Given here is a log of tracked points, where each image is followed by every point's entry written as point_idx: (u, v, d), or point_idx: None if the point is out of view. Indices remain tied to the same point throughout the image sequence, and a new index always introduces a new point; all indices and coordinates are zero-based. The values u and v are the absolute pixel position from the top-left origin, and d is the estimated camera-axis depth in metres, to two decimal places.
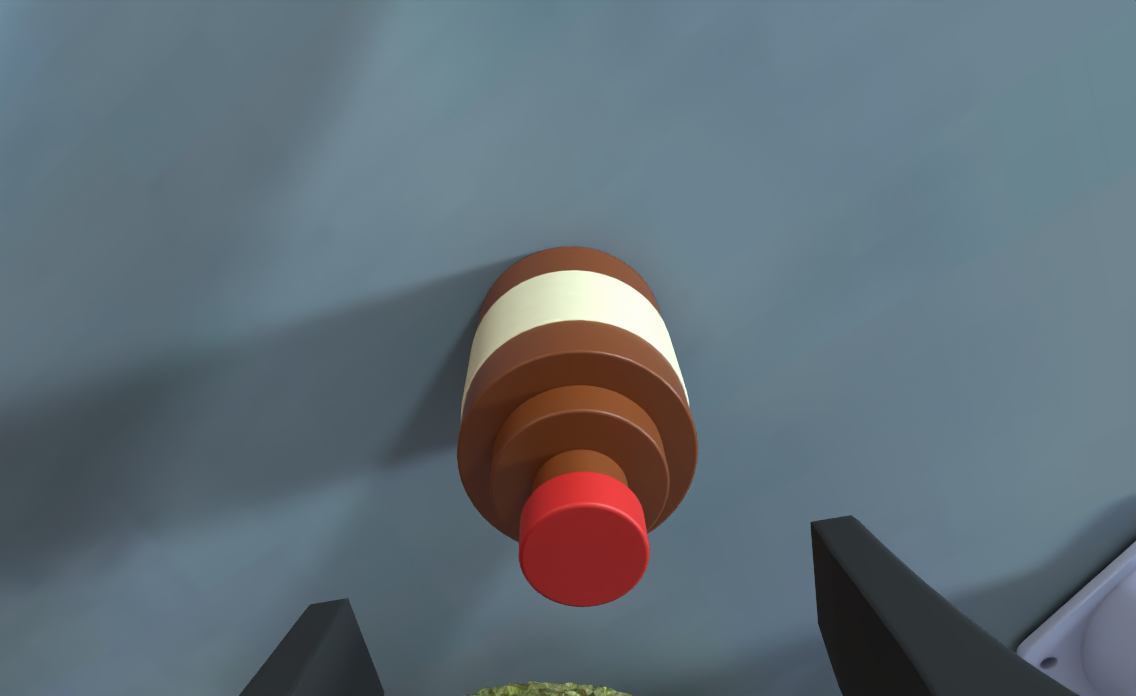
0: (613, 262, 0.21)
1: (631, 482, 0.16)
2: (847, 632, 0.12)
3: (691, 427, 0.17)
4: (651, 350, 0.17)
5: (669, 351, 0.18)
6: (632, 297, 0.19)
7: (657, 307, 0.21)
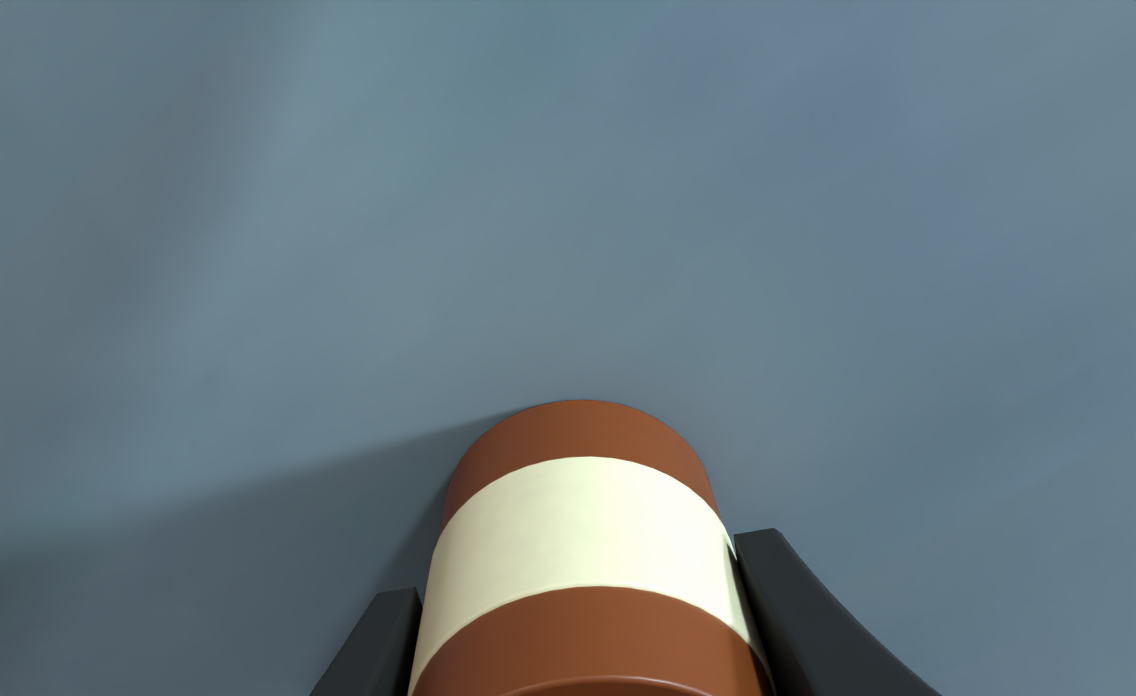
0: (645, 427, 0.14)
1: None
2: (763, 645, 0.12)
3: None
4: (722, 638, 0.10)
5: (745, 613, 0.11)
6: (680, 506, 0.12)
7: (710, 489, 0.14)
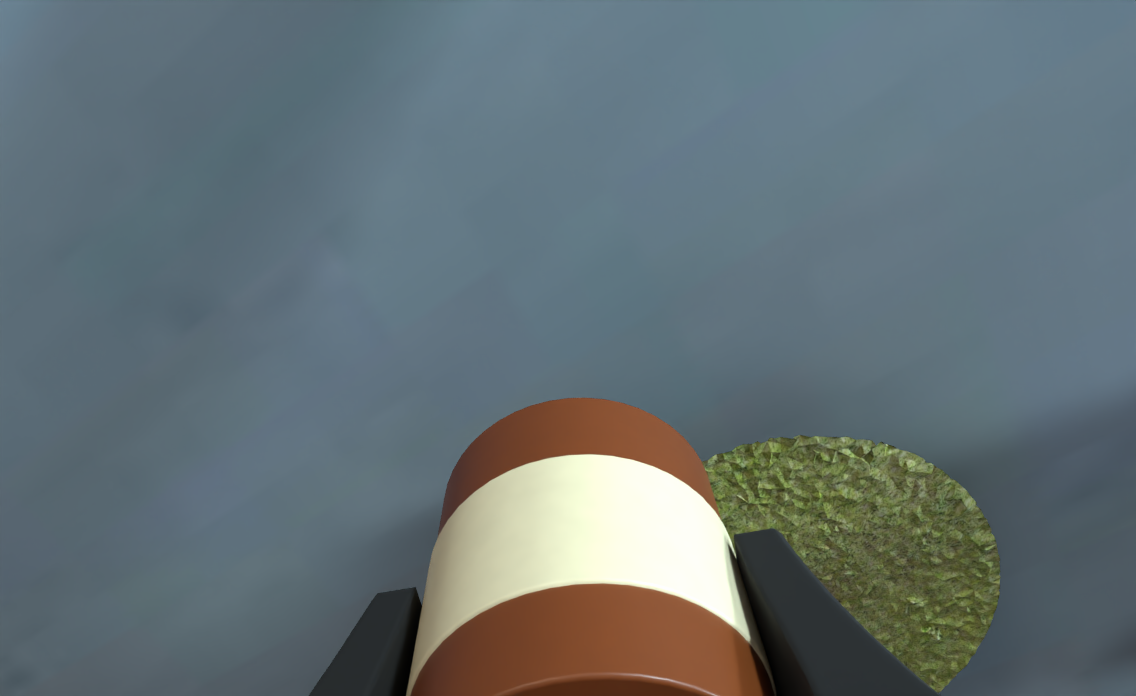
0: (644, 425, 0.14)
1: None
2: None
3: None
4: (722, 635, 0.10)
5: (745, 611, 0.11)
6: (680, 504, 0.12)
7: (710, 487, 0.14)
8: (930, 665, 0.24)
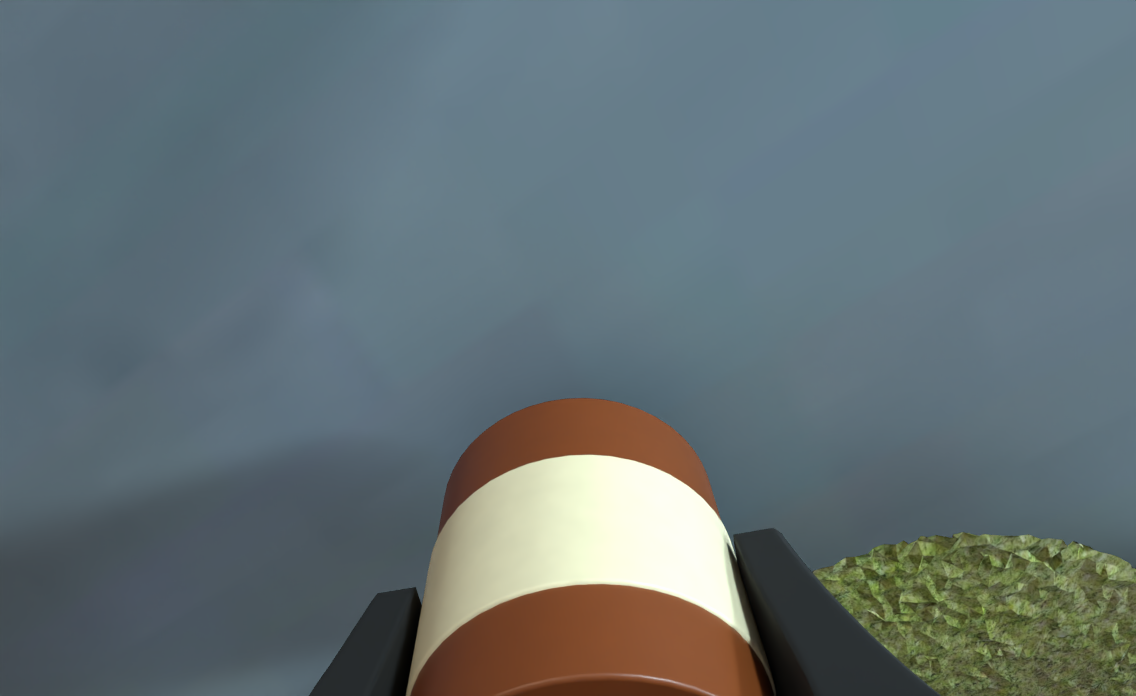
0: (644, 426, 0.14)
1: None
2: (763, 645, 0.12)
3: None
4: (721, 636, 0.10)
5: (744, 612, 0.11)
6: (679, 504, 0.12)
7: (709, 488, 0.14)
8: None
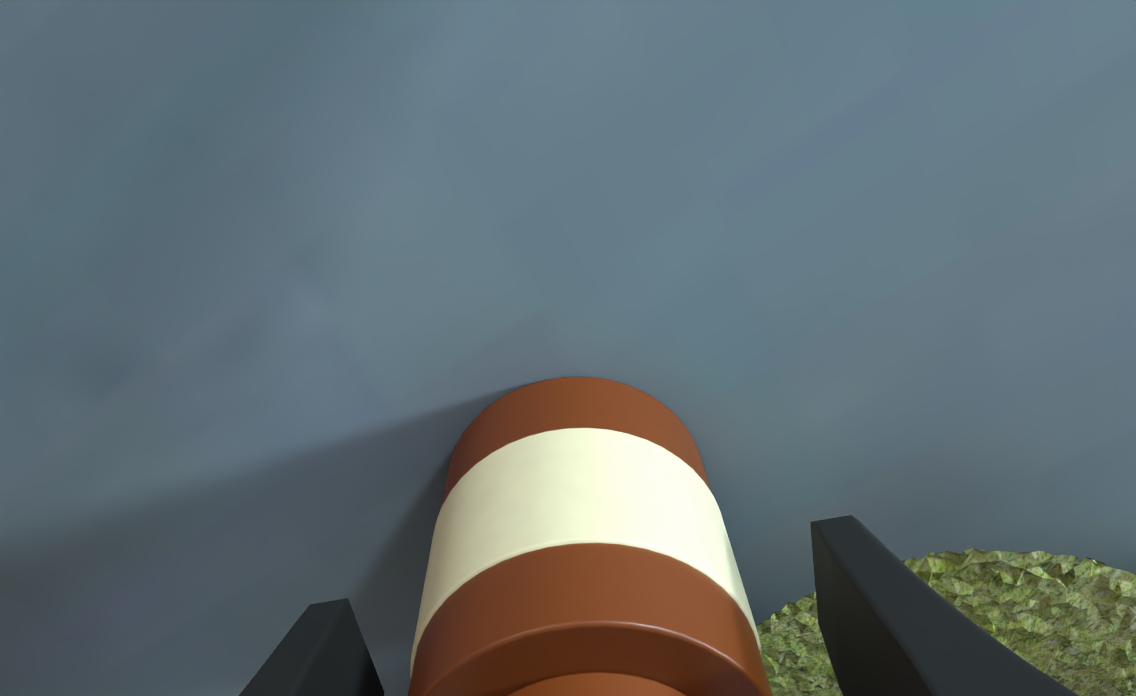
0: (638, 403, 0.15)
1: None
2: (847, 632, 0.12)
3: None
4: (708, 591, 0.11)
5: (731, 572, 0.12)
6: (671, 474, 0.13)
7: (701, 462, 0.15)
8: None
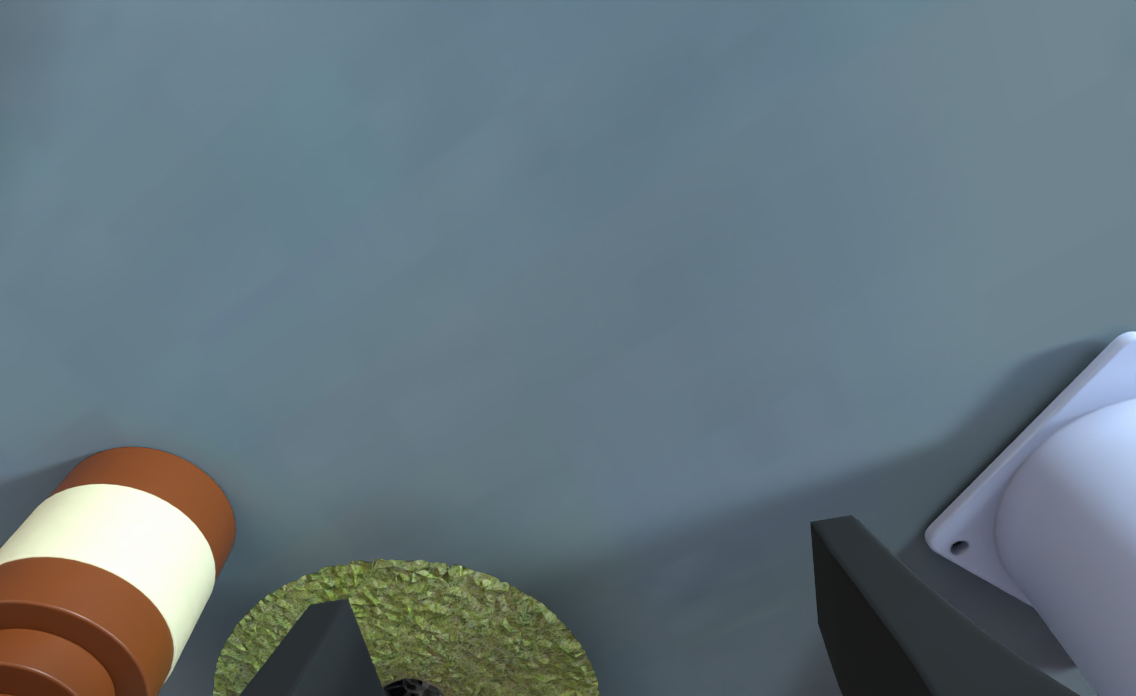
0: (162, 465, 0.23)
1: None
2: (847, 632, 0.12)
3: (131, 660, 0.19)
4: (108, 584, 0.19)
5: (152, 573, 0.20)
6: (143, 513, 0.21)
7: (212, 502, 0.23)
8: None
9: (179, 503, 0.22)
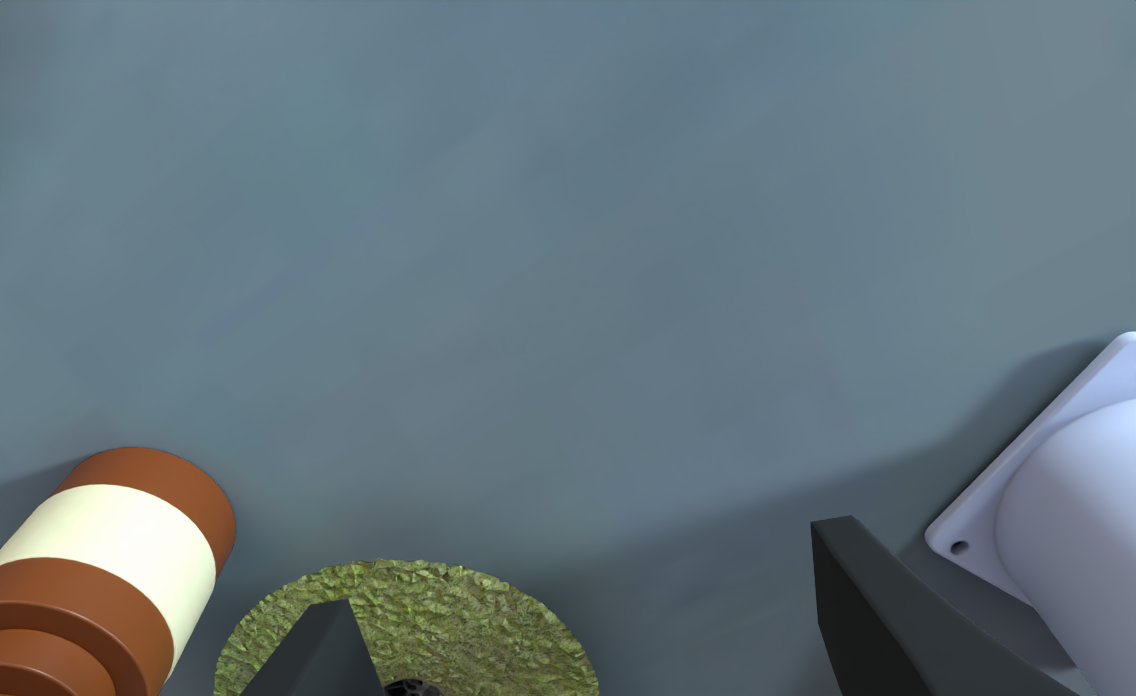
0: (163, 465, 0.23)
1: None
2: (847, 632, 0.12)
3: (131, 660, 0.19)
4: (109, 584, 0.19)
5: (152, 574, 0.20)
6: (143, 513, 0.21)
7: (212, 502, 0.23)
8: None
9: (179, 503, 0.22)
